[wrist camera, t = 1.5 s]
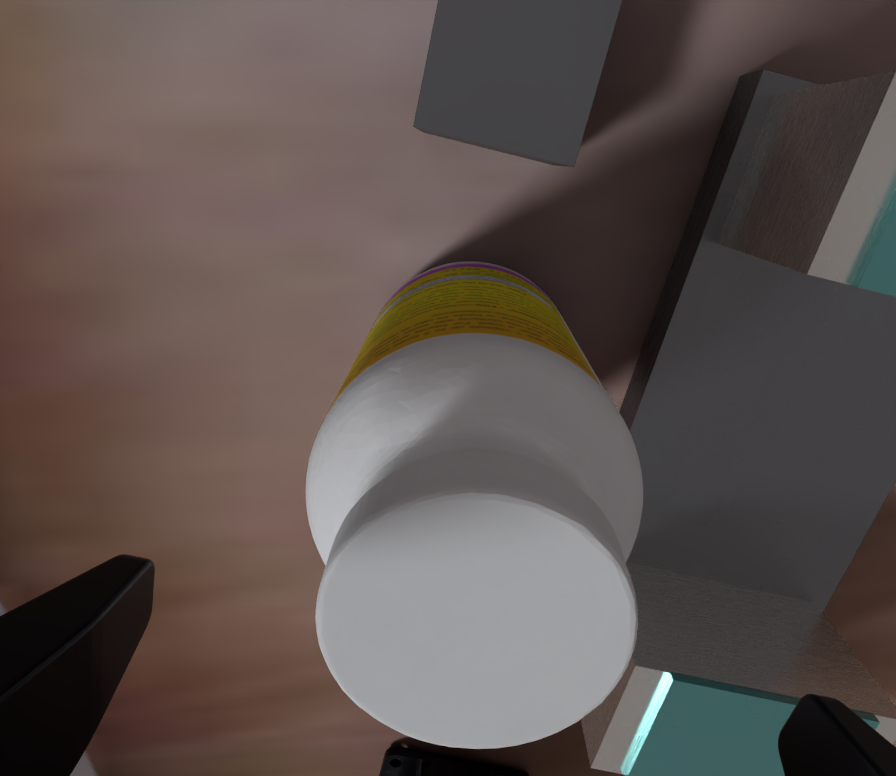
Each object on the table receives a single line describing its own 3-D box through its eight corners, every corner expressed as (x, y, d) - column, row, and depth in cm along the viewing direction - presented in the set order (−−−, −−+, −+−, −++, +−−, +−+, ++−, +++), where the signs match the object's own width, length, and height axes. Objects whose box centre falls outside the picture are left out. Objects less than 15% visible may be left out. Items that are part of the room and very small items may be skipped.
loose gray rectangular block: (552, 164, 19) (574, 167, 15) (423, 132, 19) (413, 126, 15) (603, -23, 17) (643, -74, 13) (462, -62, 17) (462, -124, 13)
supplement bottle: (336, 305, 20) (151, 520, 8) (525, 223, 19) (627, 334, 7) (419, 473, 22) (368, 839, 10) (595, 407, 21) (763, 729, 9)
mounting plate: (757, 667, 25) (856, 839, 19) (543, 623, 25) (570, 784, 18) (1030, 153, 18) (1331, 151, 12) (739, 76, 18) (892, 31, 11)
